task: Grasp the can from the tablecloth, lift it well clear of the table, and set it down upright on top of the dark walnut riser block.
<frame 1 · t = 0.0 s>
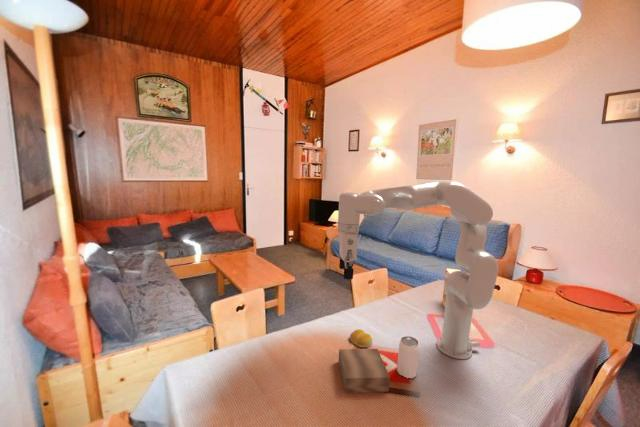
hand: (345, 273, 102), 31 cm above the table, tool pointing down, fingers open, 9 cm apart
can: (406, 372, 97), on the table
bread roll: (360, 342, 114), on the table
coffeecake box: (452, 311, 142), on the table
walnut riser: (361, 375, 95), on the table
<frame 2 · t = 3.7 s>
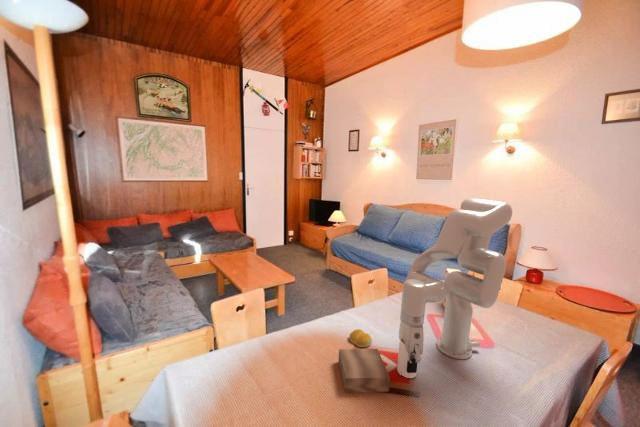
hand: (407, 364, 97), 3 cm above the table, tool pointing down, fingers closed on can, 6 cm apart
can: (406, 373, 97), on the table, touching gripper
everything else where it was.
when the fingers open (10 cm above the table, at t = 9.9 s): can drops 2 cm, resting on walnut riser.
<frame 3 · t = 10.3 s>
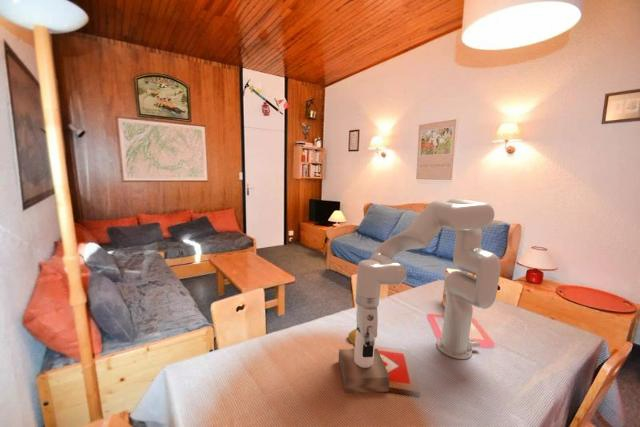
hand: (363, 346, 93), 11 cm above the table, tool pointing down, fingers open, 9 cm apart
can: (363, 362, 94), point 5 cm above the table, touching walnut riser
everything else where it was.
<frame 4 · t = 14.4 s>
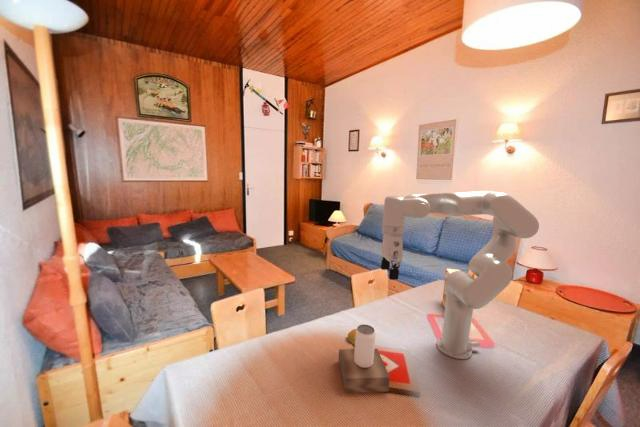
hand: (389, 274, 106), 30 cm above the table, tool pointing down, fingers open, 9 cm apart
nothing on the table moved.
at the end: can inside the target area on the walnut riser (0.4 cm from its centre), point 4.8 cm above the walnut riser's base; can tilted 0°; the gripper is holding nothing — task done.
